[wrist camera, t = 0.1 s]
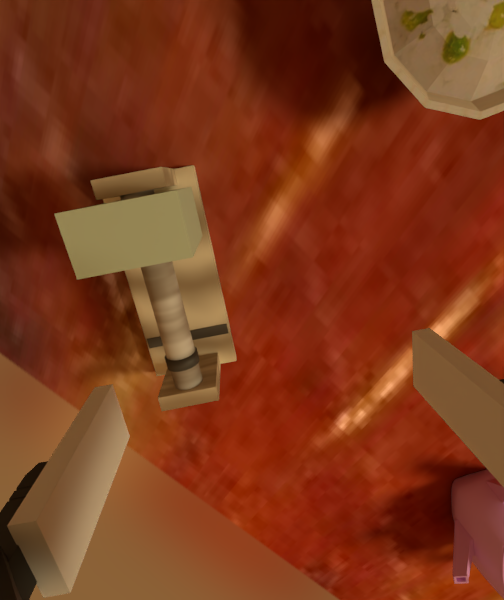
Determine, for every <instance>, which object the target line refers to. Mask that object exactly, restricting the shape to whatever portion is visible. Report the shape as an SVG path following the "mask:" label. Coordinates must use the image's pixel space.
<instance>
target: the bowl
mask: <svg viewBox="0 0 504 600" xmlns="http://www.w3.org/2000/svg"><path fill="white" fill-rule="evenodd" d="M371 1H372V6H373V11H374V15H375V20H376V25H377V30H378V34H379V39H380V44H381V49H382V54H383V58H384V62H385V64H386V65H387V66H388V67H389V68H390V69H391V70H392V71H393V72H394V74H395V75H396V76H397V77H398V78H399V79H400V80H401V81H402V83H403V84H404V85H405V86H406V87H407V88H408V89H409V90H410V91H411V93H412V94H413V95H414V96H415V97H416V98H417V99H418V100H419V102H420V103H421V104H422V105H423V106H424V107H425V108H429V109H434V110H438V111H443V112H447V113H452V114H456V115H461V116H465V117H470V118H474V119H479V120H480V119H483V118H486V117H488V116H491V115H494V114H496V113H499V112H502V111H504V0H371Z"/></svg>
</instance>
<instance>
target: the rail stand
mask: <svg viewBox="0 0 504 600" xmlns="http://www.w3.org/2000/svg"><path fill="white" fill-rule="evenodd" d="M91 184H92V188H93V191H94V194H95V197H96V200H100V199H103V201H104V203H109V202H114V201H119V200H126V199H131V198H136V197H142V196H147V195H152V194H155V193H161V192H166V191H171V190H176V189H181V188H186V187H192V191H193V196H194V200H195V205H196V209H197V213H198V218H199V222H200V227H201V231H202V235H203V236H202V238H201V240H200V243H199V245H198V247H197V249H196V252H195V254H194V256H193V257H192V258H187V259H181V260H176V261H171V262H166V263H161V264H156V265H150V266H145V267H140V268H135V269H130V270H125V273H126V277H127V280H128V283H129V287H130V290H131V293H132V296H133V300H134V303H135V306H136V310H137V313H138V316H139V319H140V323H141V326H142V329H143V333H144V336H145V339H146V342H147V346H148V349H149V352H150V356H151V359H152V362H153V365H154V369H155V372H156V375H157V376H160V375H165V377H164V380H163V384H162V387H161V390H160V393H159V396H158V400H159V403H160V407H161V410H162V411H165V410H171V409H176V408H181V407H186V406H191V405H196V404H202V403H207V402H212V401H217V400H219V389H220V364H222V363H227V362H233V361H236V353H235V348H234V344H233V339H232V335H231V330H230V326H229V321H228V316H227V312H226V307H225V303H224V298H223V294H222V289H221V285H220V280H219V276H218V271H217V266H216V262H215V257H214V253H213V248H212V244H211V239H210V235H209V230H208V225H207V221H206V216H205V212H204V207H203V203H202V198H201V194H200V189H199V185H198V180H197V175H196V171H195V166H194V165H192V166H187V167H182V168H177V169H171V168H165V167H158V168H153V169H147V170H142V171H137V172H132V173H127V174H122V175H116V176H111V177H106V178H101V179H96V180H91Z"/></svg>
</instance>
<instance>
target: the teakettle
mask: <svg viewBox="0 0 504 600" xmlns="http://www.w3.org/2000/svg"><path fill="white" fill-rule="evenodd" d="M451 509H452V516H453V520H454V524H455V527H454V553H453V579H454V583H455V584H456V583H469V580H468V578H469V573H470V568H471V562H473V563H474V565H475V566H476V567H477V569H478V570H479V571H480V572H481V574H482V575H483V576H484V577H485V578H486V580H487V581H488V582H489V583H490V584H491V585H492V586H493V588H494V589H495V590H496V591H497V592H498V593H499V594H500V595H501V596H502V597H503V598H504V487H503V486H502V485H501V484H500V483H499V482H498V480H497V479H496V478H495V477H494V476H493V475H492V474H491V473H490V471H489V470H488V469H485V470H482V471H478V472H475V473H472V474H468V475H465V476H462V477H459V478H457V479H455V480H454V481H453V483H452V487H451Z"/></svg>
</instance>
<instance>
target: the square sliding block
mask: <svg viewBox="0 0 504 600" xmlns="http://www.w3.org/2000/svg"><path fill="white" fill-rule="evenodd" d="M54 215H55V218H56V221H57V224H58V226H59V229H60V232H61V235H62V238H63V241H64V243H65V246H66V249H67V252H68V255H69V258H70V261H71V263H72V266H73V269H74V272H75V275H76V278H77V280H78V279H83V278H89V277H94V276H99V275H104V274H109V273H114V272H120V271H125V270H130V269H135V268H140V267H145V266H150V265H156V264H161V263H166V262H171V261H176V260H181V259H187V258H192V257H193V256H194V254H195V252H196V249H197V247H198V245H199V243H200V240H201V238H202V236H203V235H202V231H201V227H200V222H199V218H198V213H197V209H196V205H195V200H194V196H193V191H192V187H186V188H181V189H176V190H171V191H166V192H161V193H155V194H152V195H147V196H142V197H136V198H131V199H126V200H119V201H114V202H109V203H104V204H99V205H94V206H89V207H84V208H80V209H75V210H70V211H65V212H60V213H55V214H54Z"/></svg>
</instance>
